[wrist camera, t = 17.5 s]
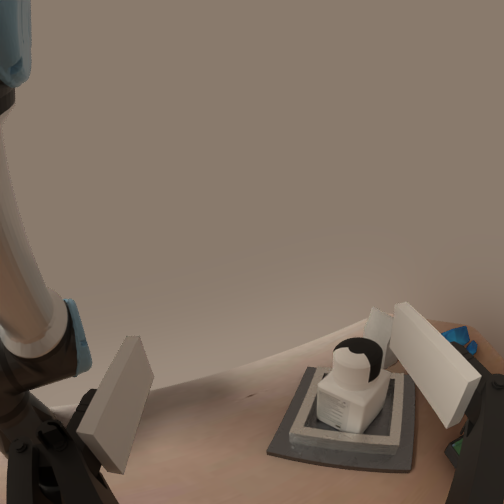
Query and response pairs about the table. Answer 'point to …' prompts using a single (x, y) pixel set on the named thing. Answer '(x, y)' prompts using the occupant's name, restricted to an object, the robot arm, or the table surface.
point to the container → (353, 386)
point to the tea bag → (381, 334)
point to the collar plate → (349, 444)
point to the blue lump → (460, 338)
